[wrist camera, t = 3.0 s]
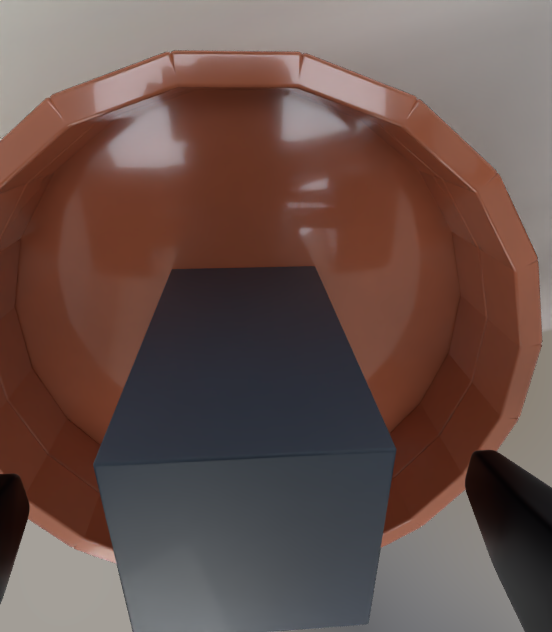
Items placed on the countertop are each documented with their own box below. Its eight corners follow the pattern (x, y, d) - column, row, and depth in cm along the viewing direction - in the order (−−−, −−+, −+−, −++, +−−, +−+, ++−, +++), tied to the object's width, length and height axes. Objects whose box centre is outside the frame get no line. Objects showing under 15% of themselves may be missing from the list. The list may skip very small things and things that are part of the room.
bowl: (517, 67, 12) (633, 54, 9) (429, 477, 19) (474, 566, 15) (-67, 62, 11) (-213, 45, 8) (61, 497, 18) (16, 598, 14)
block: (315, 265, 14) (397, 449, 7) (310, 383, 16) (369, 625, 8) (171, 268, 13) (91, 464, 6) (183, 388, 15) (134, 643, 8)
